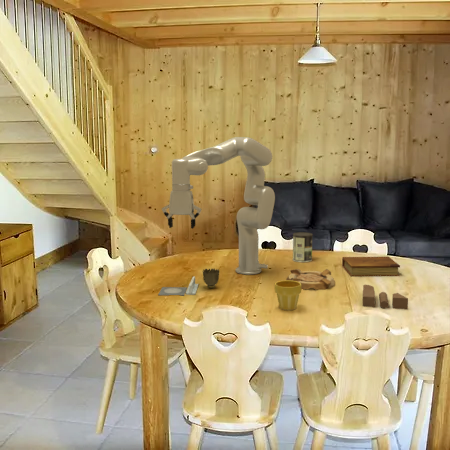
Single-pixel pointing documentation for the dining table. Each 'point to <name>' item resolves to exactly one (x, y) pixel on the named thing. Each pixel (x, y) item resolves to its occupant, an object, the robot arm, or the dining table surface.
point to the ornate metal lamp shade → (211, 277)
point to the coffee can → (302, 247)
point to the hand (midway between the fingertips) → (181, 227)
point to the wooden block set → (383, 299)
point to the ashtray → (313, 279)
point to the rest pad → (173, 291)
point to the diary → (370, 266)
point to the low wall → (192, 287)
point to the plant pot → (288, 294)
